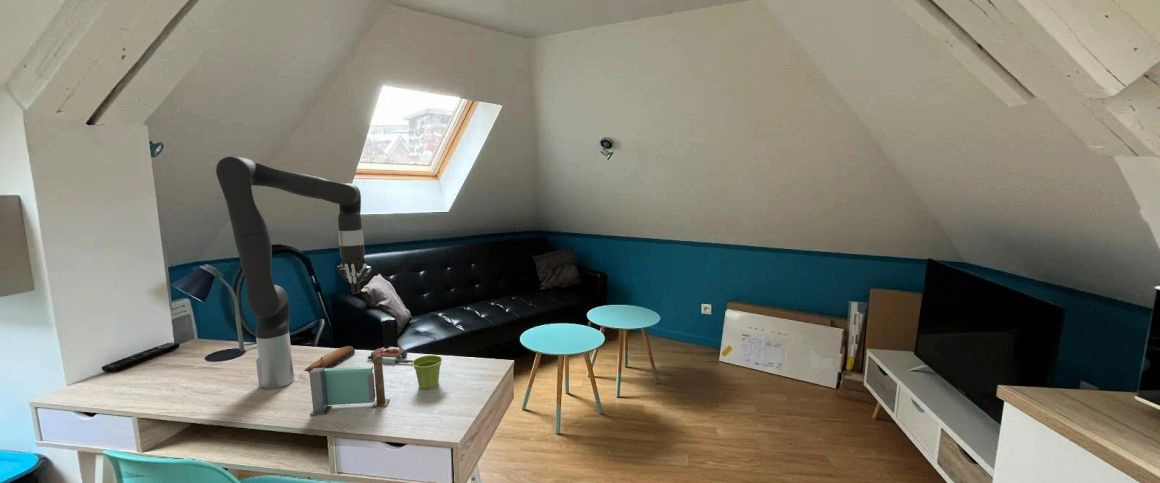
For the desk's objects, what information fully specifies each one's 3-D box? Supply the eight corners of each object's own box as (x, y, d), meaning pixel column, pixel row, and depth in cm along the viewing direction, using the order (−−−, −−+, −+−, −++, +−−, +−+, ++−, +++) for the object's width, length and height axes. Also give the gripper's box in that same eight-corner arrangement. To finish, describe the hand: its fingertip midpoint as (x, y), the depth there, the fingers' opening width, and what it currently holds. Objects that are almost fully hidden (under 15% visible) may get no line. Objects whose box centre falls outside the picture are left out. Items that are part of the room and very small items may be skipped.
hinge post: (372, 407, 143) (368, 358, 140) (376, 401, 147) (372, 353, 144) (386, 407, 143) (382, 357, 141) (389, 400, 147) (386, 352, 145)
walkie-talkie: (363, 363, 177) (414, 366, 173) (363, 352, 176) (413, 355, 173) (377, 354, 185) (425, 357, 182) (376, 343, 184) (425, 346, 181)
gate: (375, 400, 146) (372, 366, 144) (373, 403, 144) (371, 368, 142) (321, 403, 144) (318, 368, 142) (318, 406, 142) (315, 371, 141)
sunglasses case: (335, 352, 187) (342, 338, 185) (350, 362, 186) (357, 348, 185) (301, 371, 169) (308, 356, 168) (318, 382, 169) (325, 367, 167)
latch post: (310, 415, 139) (305, 373, 137) (316, 408, 143) (312, 367, 141) (325, 414, 139) (321, 372, 137) (331, 407, 144) (327, 366, 141)
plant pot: (449, 385, 157) (447, 360, 156) (423, 395, 151) (421, 369, 149) (434, 376, 164) (432, 352, 162) (408, 386, 157) (406, 361, 156)
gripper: (326, 244, 158) (331, 295, 161) (361, 245, 155) (365, 297, 158) (342, 241, 165) (347, 289, 168) (376, 242, 162) (379, 291, 165)
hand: (356, 293), depth 163 cm, fingers closed
